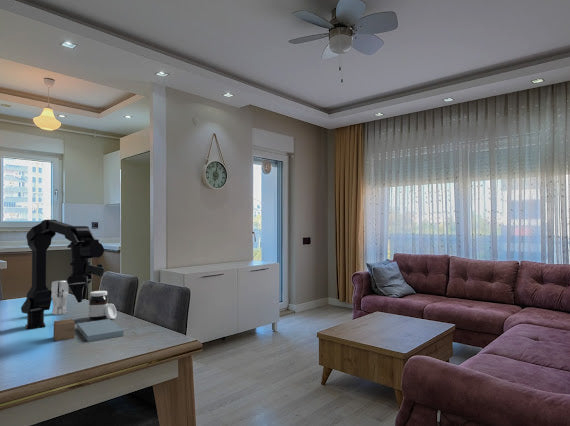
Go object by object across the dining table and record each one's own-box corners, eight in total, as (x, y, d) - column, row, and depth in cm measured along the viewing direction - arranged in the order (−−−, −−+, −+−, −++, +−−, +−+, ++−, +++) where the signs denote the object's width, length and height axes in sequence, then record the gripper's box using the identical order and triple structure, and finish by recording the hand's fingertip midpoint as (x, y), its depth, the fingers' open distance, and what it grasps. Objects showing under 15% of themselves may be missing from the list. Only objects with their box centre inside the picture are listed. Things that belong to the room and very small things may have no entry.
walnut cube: (53, 337, 141) (53, 321, 141) (71, 334, 145) (72, 318, 145) (55, 341, 136) (55, 324, 136) (74, 338, 140) (74, 321, 140)
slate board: (77, 328, 153) (77, 323, 153) (109, 323, 160) (109, 318, 160) (87, 341, 135) (87, 336, 135) (123, 335, 142) (123, 330, 143)
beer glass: (71, 312, 180) (71, 281, 181) (55, 315, 175) (56, 282, 175) (63, 311, 184) (63, 279, 185) (47, 314, 178) (48, 281, 179)
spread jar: (90, 316, 173) (90, 290, 173) (117, 314, 177) (117, 289, 178) (87, 322, 162) (87, 295, 162) (116, 320, 166) (116, 293, 166)
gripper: (101, 257, 138) (103, 301, 137) (105, 256, 156) (107, 295, 155) (66, 260, 134) (67, 305, 133) (74, 259, 152) (76, 299, 151)
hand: (81, 300), depth 143 cm, fingers open, 9 cm apart
